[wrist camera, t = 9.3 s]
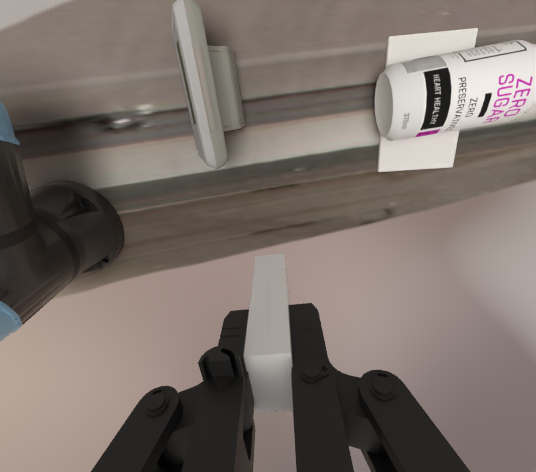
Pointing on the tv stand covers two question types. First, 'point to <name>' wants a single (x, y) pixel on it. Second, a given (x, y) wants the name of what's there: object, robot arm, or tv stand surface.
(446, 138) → the mat
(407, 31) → the tv stand surface
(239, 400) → the robot arm
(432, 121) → the supplement can
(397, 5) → the tv stand surface
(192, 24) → the digital clock
